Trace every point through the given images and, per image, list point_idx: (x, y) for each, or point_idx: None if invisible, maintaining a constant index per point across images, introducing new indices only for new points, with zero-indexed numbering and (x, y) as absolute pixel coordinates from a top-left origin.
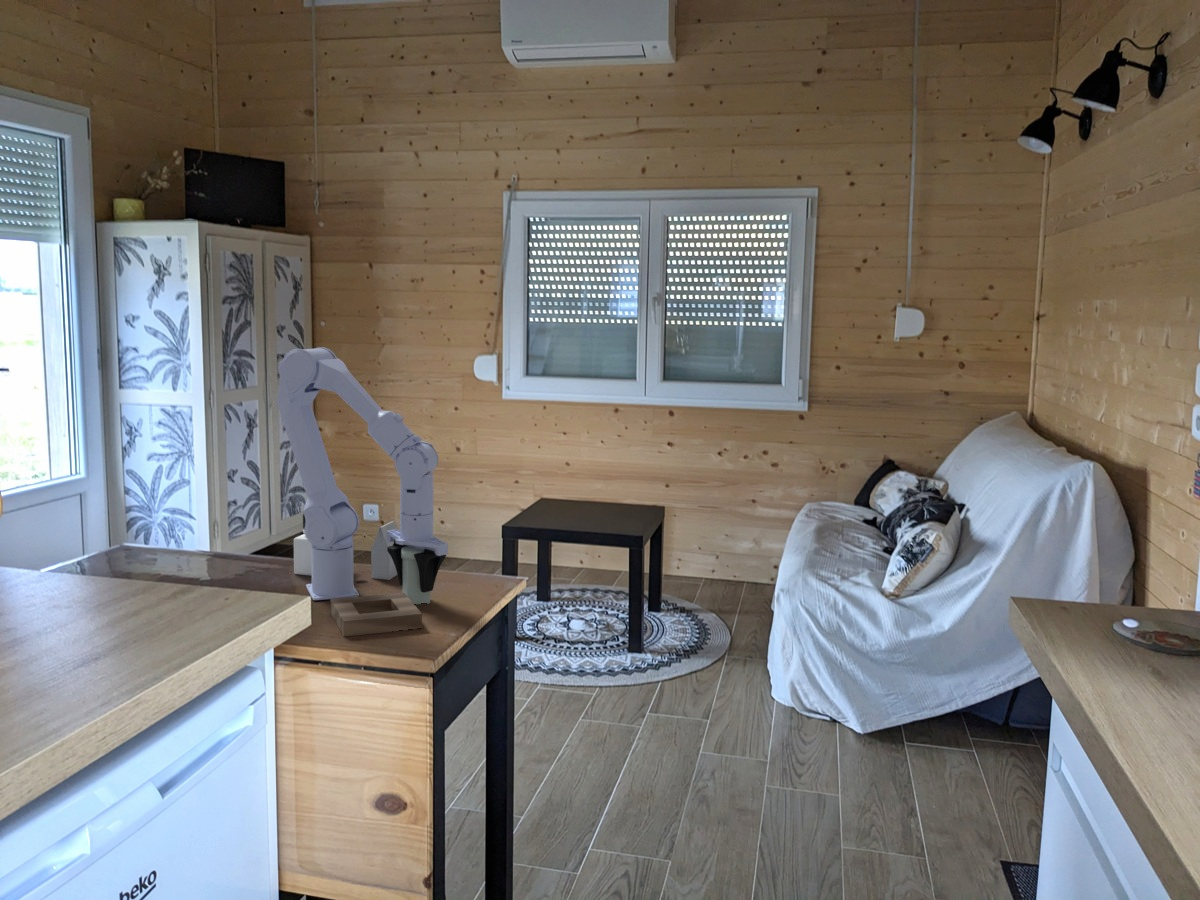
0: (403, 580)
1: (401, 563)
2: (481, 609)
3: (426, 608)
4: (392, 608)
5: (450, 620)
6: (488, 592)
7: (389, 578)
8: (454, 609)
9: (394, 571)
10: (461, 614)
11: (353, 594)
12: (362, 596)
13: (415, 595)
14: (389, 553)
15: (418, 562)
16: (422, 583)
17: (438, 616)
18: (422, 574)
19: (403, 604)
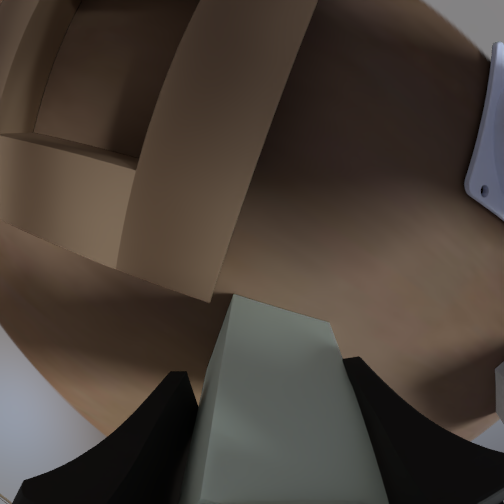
0: (329, 378)
1: (382, 453)
2: (84, 411)
3: (152, 325)
4: (115, 157)
5: (19, 300)
6: None
7: (496, 371)
8: (105, 376)
9: (502, 395)
10: (57, 357)
11: (477, 172)
12: (295, 55)
13: (217, 347)
14: (490, 452)
15: (92, 488)
16: (149, 397)
17: (56, 299)
18: (120, 433)
19: (32, 184)
